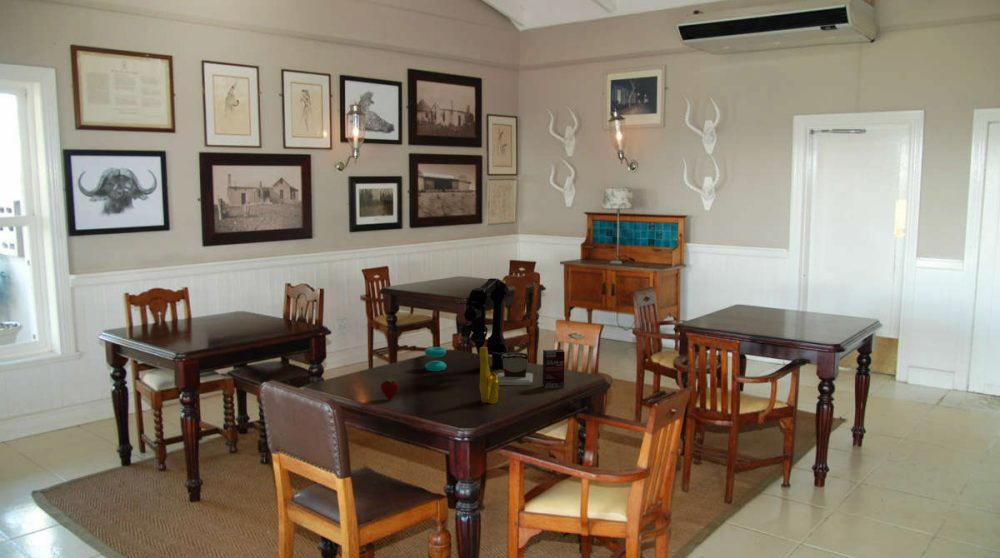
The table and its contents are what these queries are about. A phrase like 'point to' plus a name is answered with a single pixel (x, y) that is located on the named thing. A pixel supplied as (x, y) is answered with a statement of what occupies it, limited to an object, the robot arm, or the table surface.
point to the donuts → (435, 353)
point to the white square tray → (515, 380)
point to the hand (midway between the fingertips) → (479, 351)
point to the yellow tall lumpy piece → (487, 379)
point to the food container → (515, 364)
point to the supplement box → (553, 368)
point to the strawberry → (390, 388)
